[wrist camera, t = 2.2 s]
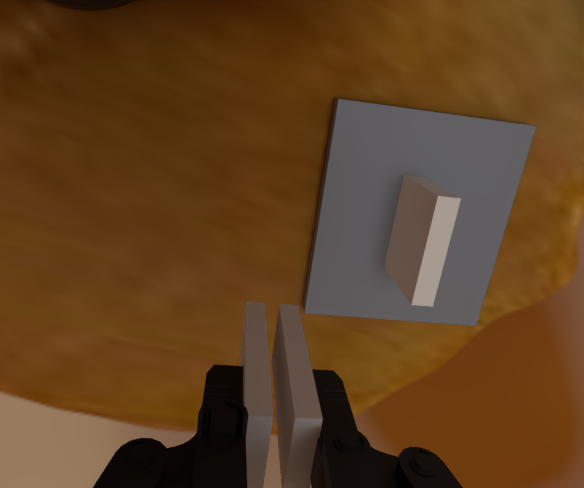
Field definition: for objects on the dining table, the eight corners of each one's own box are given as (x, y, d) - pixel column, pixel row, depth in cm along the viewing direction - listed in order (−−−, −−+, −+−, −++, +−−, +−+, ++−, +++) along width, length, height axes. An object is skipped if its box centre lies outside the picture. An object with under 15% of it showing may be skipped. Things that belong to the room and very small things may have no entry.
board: (334, 97, 35) (338, 98, 34) (525, 124, 37) (536, 126, 36) (302, 305, 41) (304, 313, 40) (468, 317, 43) (475, 325, 42)
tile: (403, 174, 36) (438, 195, 30) (424, 177, 37) (463, 198, 30) (383, 266, 39) (411, 305, 32) (403, 268, 39) (434, 306, 33)
